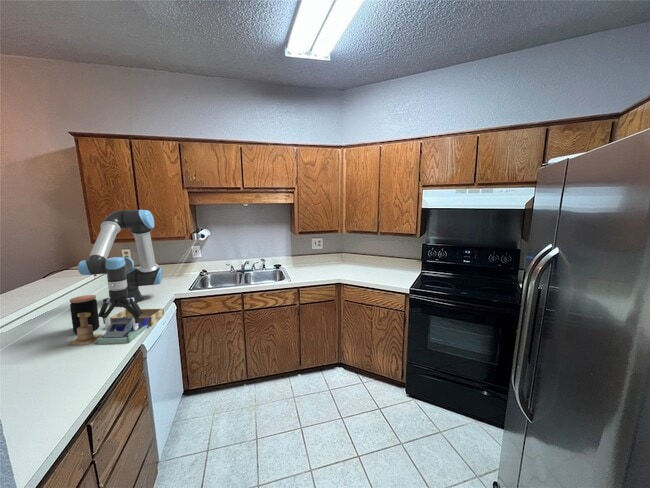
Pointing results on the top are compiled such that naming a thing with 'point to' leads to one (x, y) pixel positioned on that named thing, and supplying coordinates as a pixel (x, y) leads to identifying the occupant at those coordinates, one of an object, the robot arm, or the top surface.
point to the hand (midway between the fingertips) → (122, 329)
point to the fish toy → (132, 326)
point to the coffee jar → (84, 305)
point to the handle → (84, 331)
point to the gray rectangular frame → (122, 322)
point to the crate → (147, 313)
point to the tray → (129, 338)
